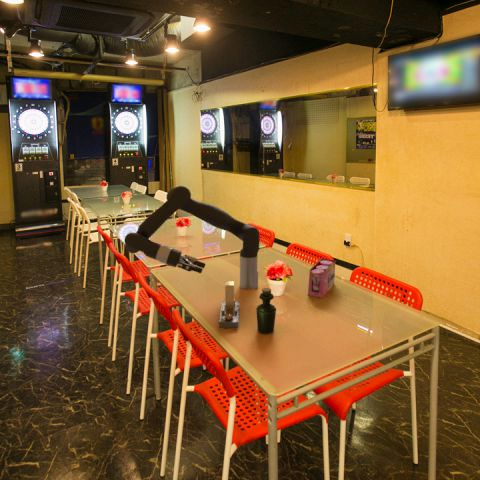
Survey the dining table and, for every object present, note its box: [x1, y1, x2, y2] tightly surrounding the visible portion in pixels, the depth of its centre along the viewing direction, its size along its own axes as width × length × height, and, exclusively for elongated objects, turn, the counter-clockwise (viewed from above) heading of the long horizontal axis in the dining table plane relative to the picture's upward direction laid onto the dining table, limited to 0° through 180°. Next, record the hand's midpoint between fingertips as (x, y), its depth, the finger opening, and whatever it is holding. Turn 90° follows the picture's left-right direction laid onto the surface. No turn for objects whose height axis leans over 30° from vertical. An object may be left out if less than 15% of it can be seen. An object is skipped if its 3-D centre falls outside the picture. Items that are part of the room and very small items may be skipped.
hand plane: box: [218, 297, 240, 329], centre depth 184 cm, size 22×8×5 cm, turn 179°
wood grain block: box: [224, 280, 235, 314], centre depth 182 cm, size 5×4×13 cm
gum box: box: [307, 258, 336, 299], centre depth 216 cm, size 24×8×14 cm, turn 153°
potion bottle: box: [255, 287, 277, 335], centre depth 170 cm, size 8×8×18 cm
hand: (203, 268), depth 182 cm, fingers open, 8 cm apart
